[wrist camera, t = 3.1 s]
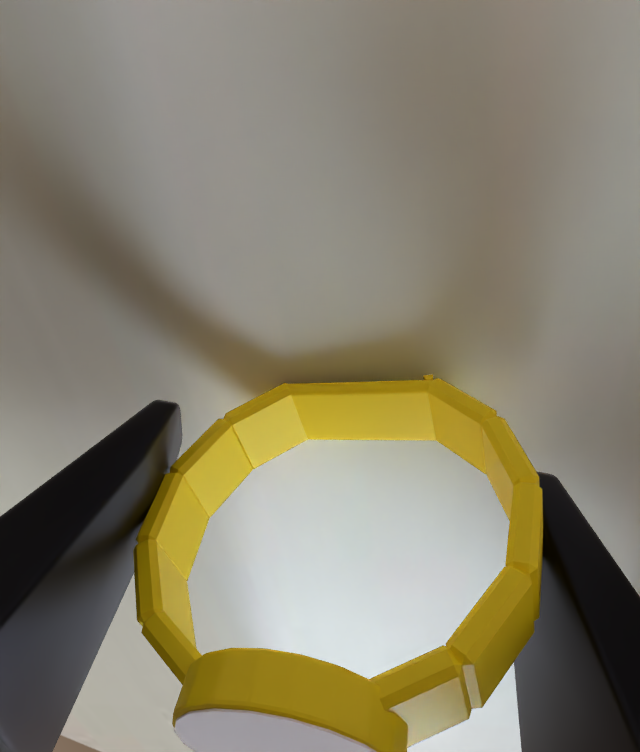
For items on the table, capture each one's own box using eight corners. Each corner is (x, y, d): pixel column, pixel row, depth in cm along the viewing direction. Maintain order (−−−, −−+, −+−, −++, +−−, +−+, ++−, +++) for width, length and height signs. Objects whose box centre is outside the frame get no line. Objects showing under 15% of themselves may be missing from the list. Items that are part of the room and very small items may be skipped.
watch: (521, 325, 9) (588, 745, 5) (527, 443, 11) (580, 832, 7) (186, 360, 11) (16, 696, 7) (235, 457, 13) (126, 775, 8)
